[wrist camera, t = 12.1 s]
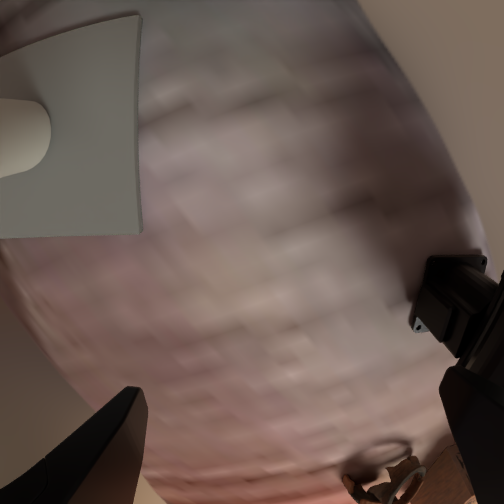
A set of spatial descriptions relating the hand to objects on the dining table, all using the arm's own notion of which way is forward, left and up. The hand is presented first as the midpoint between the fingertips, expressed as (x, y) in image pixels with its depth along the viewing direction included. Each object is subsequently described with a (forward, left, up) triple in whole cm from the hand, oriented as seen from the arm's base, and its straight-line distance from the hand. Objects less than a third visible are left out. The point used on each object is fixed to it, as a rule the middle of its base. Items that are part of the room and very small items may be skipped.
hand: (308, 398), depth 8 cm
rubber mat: (+16, -8, -13) cm, 22 cm away
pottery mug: (-16, +31, -13) cm, 38 cm away
